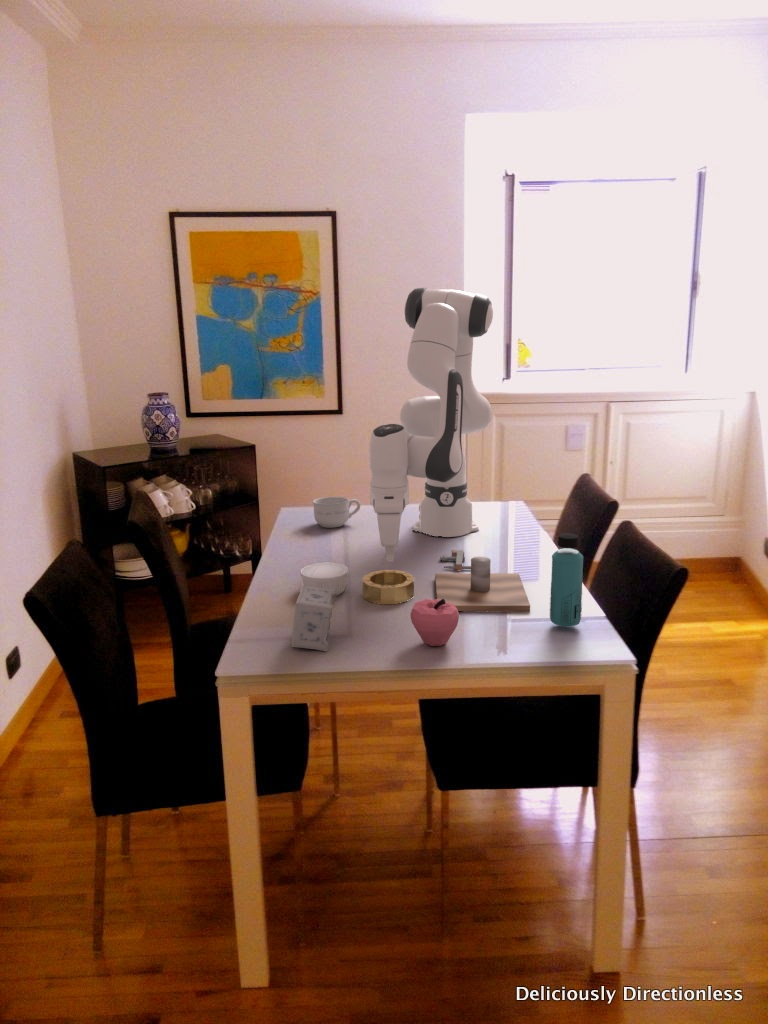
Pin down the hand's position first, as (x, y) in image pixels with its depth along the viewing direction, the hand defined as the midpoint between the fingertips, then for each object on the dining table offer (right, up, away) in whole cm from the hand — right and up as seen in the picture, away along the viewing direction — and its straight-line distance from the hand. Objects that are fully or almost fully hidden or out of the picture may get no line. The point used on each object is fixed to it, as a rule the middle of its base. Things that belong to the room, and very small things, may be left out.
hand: (390, 554), depth 188 cm
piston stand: (+20, -9, -3) cm, 23 cm away
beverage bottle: (+36, -14, -21) cm, 44 cm away
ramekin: (-15, -9, +2) cm, 18 cm away
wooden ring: (0, -9, -2) cm, 9 cm away
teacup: (-15, +6, +53) cm, 55 cm away
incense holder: (-15, -16, -25) cm, 34 cm away
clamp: (+17, -4, +17) cm, 25 cm away
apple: (+9, -17, -27) cm, 33 cm away
